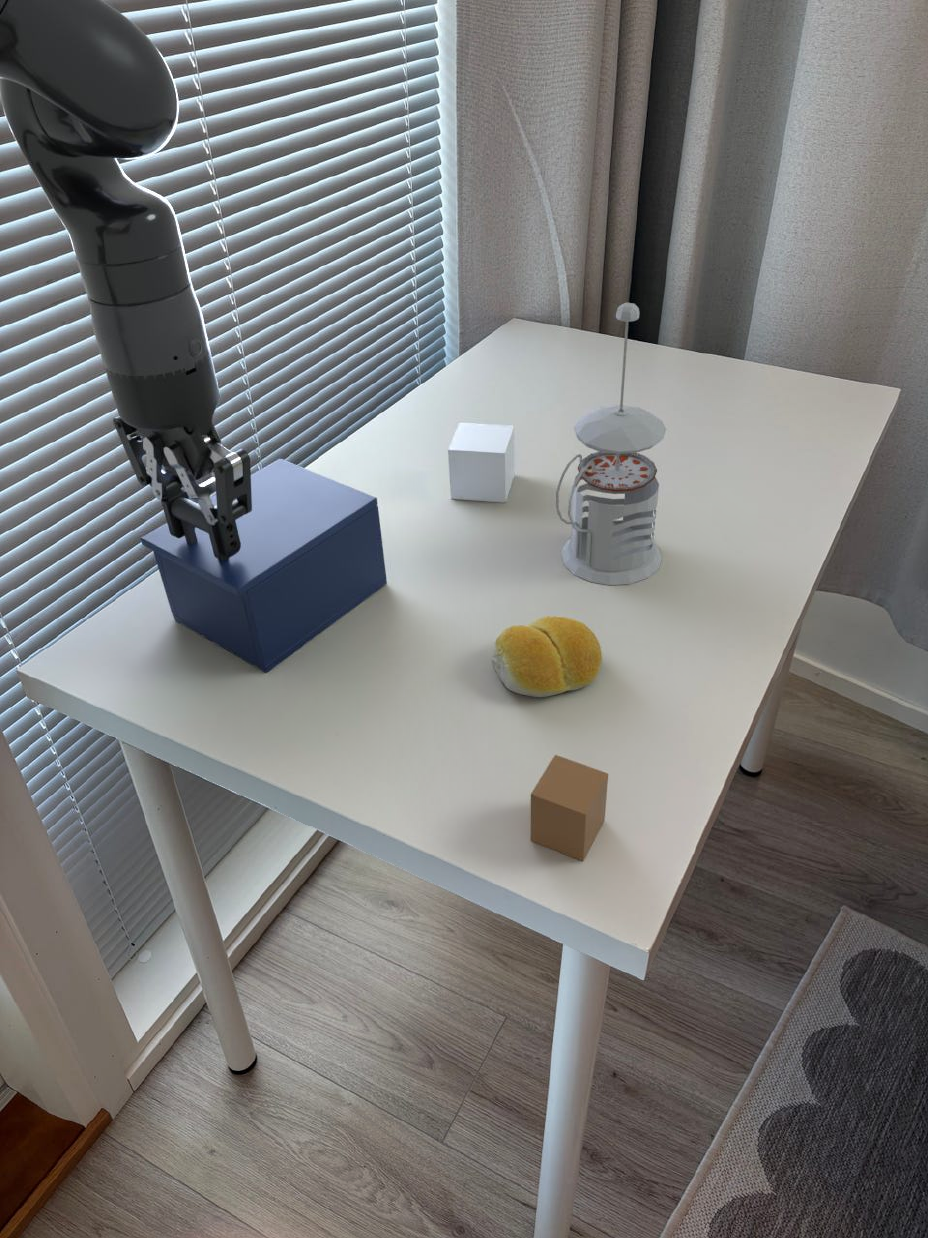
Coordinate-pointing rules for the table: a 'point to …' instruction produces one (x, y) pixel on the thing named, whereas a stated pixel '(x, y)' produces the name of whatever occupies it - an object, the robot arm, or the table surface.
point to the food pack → (568, 807)
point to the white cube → (481, 462)
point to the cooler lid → (264, 526)
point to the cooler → (282, 596)
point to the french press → (615, 491)
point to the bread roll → (547, 656)
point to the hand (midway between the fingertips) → (206, 543)
